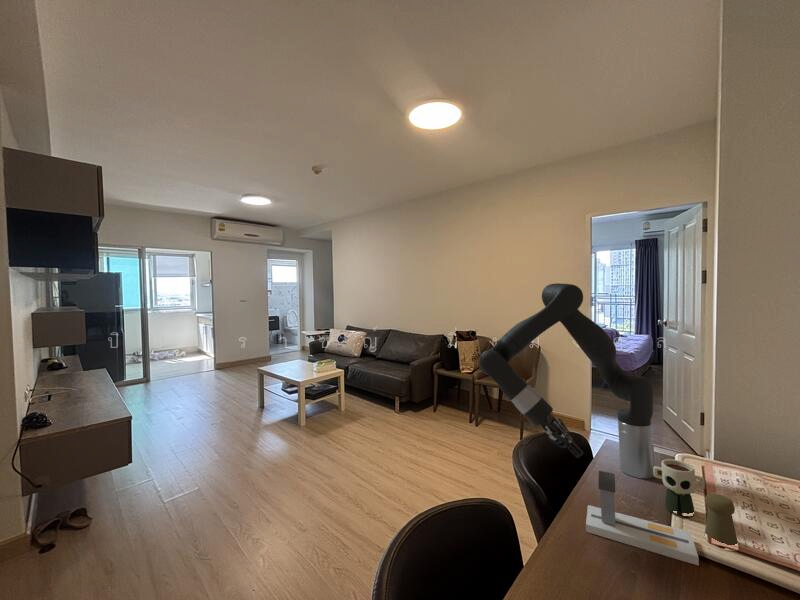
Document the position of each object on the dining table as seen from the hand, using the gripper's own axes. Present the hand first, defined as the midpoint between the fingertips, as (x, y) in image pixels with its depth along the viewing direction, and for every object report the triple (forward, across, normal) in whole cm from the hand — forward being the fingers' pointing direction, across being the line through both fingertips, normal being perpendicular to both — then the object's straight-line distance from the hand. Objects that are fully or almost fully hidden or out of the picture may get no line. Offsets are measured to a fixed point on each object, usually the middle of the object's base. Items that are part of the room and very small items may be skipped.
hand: (580, 455), depth 89 cm
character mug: (+29, +17, -3) cm, 33 cm away
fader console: (+21, 0, +4) cm, 21 cm away
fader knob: (+15, 0, +7) cm, 17 cm away
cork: (+33, +7, -8) cm, 35 cm away
